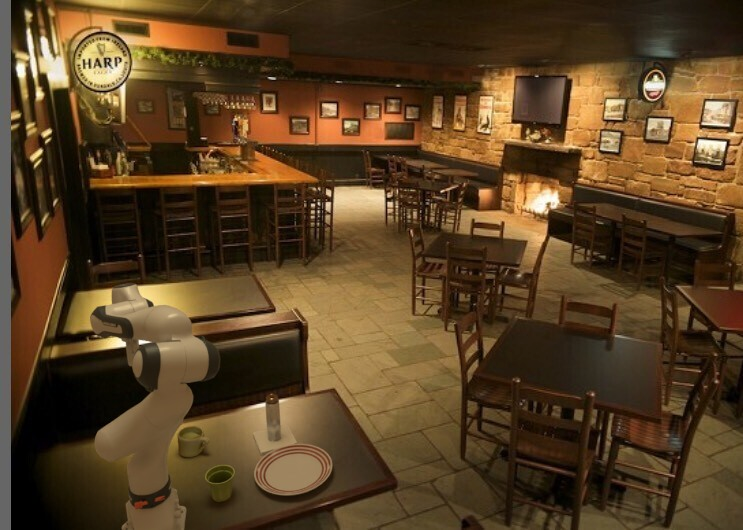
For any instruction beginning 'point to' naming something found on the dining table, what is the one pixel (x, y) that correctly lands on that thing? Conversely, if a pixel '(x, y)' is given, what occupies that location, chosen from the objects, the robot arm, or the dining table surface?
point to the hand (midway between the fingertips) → (135, 366)
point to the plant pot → (220, 482)
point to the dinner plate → (293, 469)
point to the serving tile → (268, 446)
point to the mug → (191, 441)
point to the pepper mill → (273, 418)
